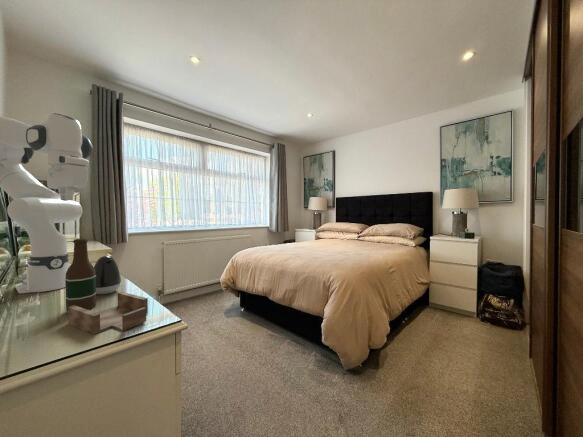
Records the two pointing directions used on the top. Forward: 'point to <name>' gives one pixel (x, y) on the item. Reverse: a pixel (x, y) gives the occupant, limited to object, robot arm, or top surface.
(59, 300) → the top surface
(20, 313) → the top surface
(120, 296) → the u rest
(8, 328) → the top surface
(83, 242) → the beer bottle
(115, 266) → the dark grey oval piece
